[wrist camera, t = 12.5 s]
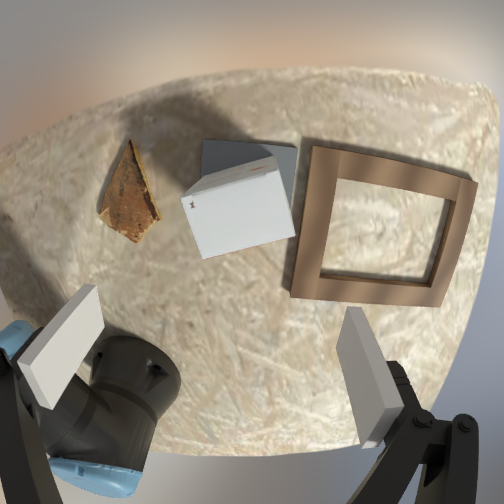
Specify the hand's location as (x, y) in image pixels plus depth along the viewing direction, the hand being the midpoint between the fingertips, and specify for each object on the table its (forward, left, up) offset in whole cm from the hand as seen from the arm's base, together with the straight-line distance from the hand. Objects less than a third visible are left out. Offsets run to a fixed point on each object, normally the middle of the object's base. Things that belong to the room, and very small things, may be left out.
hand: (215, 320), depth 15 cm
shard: (-15, 0, -22) cm, 26 cm away
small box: (0, +2, -21) cm, 21 cm away
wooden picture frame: (+17, -1, -21) cm, 27 cm away
